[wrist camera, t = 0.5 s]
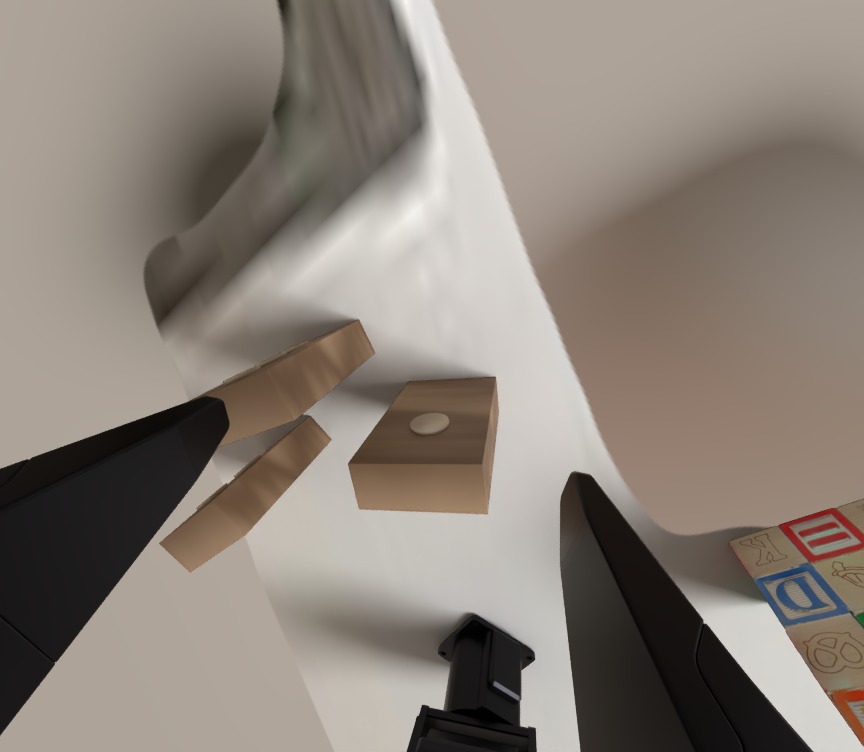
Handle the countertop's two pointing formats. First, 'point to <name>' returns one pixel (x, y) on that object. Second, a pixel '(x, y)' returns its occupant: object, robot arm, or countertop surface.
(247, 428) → the light brown wooden block
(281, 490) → the tile two
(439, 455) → the wooden block
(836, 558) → the stack of blocks
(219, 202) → the countertop surface
